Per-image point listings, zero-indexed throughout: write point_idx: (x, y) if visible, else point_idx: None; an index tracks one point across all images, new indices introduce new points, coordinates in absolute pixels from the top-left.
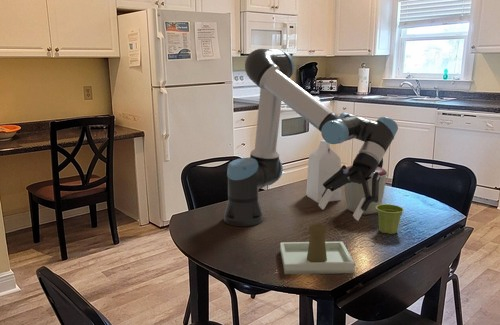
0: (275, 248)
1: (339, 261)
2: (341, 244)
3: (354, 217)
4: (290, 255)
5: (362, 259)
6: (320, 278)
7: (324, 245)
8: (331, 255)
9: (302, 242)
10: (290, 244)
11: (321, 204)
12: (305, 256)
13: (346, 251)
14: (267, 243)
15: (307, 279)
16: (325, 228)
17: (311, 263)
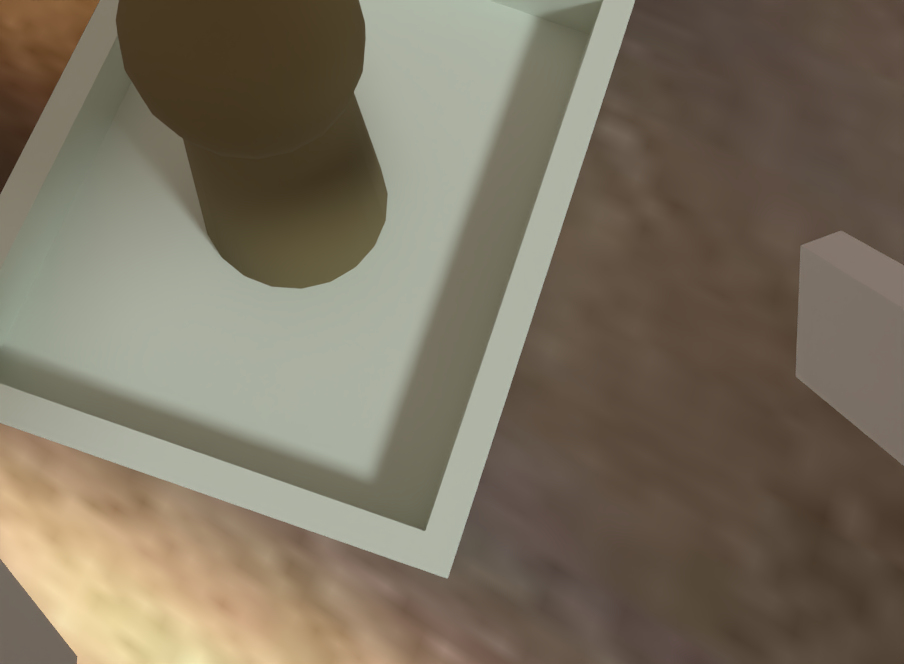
0: (683, 25)
1: (158, 363)
2: (376, 519)
3: (20, 597)
4: (451, 33)
5: (169, 650)
6: (18, 97)
7: (199, 179)
8: (307, 362)
9: (569, 165)
10: (582, 59)
11: (828, 288)
12: (382, 134)
13: (190, 469)
14: (805, 9)
15: (52, 3)
16: (149, 87)
17: (101, 24)
